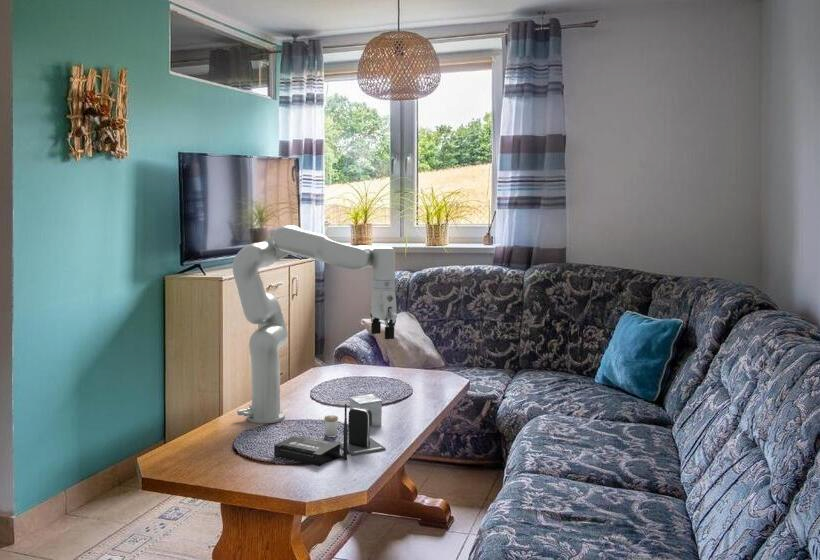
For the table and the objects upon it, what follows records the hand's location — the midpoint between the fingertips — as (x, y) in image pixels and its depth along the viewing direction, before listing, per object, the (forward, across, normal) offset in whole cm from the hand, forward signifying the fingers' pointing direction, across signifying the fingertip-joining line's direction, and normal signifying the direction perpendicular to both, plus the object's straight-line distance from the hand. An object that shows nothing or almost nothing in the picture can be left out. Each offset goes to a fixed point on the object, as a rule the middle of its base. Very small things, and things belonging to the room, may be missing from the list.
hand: (382, 336), depth 235 cm
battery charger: (+30, -16, +15) cm, 37 cm away
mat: (+30, -16, +15) cm, 37 cm away
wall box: (+30, +4, +4) cm, 31 cm away
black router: (+31, -17, +31) cm, 47 cm away
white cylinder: (+30, -2, +19) cm, 36 cm away
